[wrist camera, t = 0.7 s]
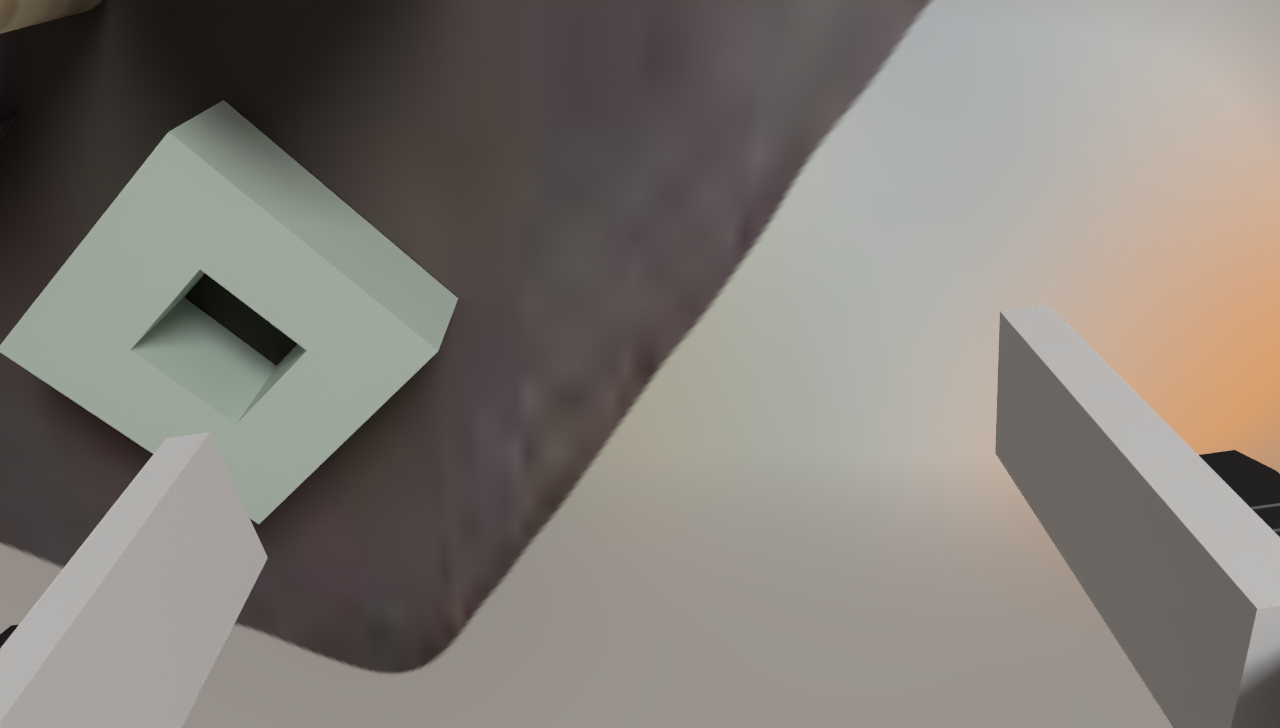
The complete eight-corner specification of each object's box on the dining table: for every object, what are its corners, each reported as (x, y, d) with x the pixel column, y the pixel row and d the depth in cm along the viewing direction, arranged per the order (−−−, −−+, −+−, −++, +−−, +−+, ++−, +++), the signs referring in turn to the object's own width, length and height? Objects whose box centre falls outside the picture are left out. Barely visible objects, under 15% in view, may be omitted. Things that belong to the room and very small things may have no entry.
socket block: (65, 296, 40) (-4, 349, 35) (223, 99, 36) (168, 132, 31) (295, 458, 44) (258, 524, 39) (458, 298, 40) (438, 351, 36)
